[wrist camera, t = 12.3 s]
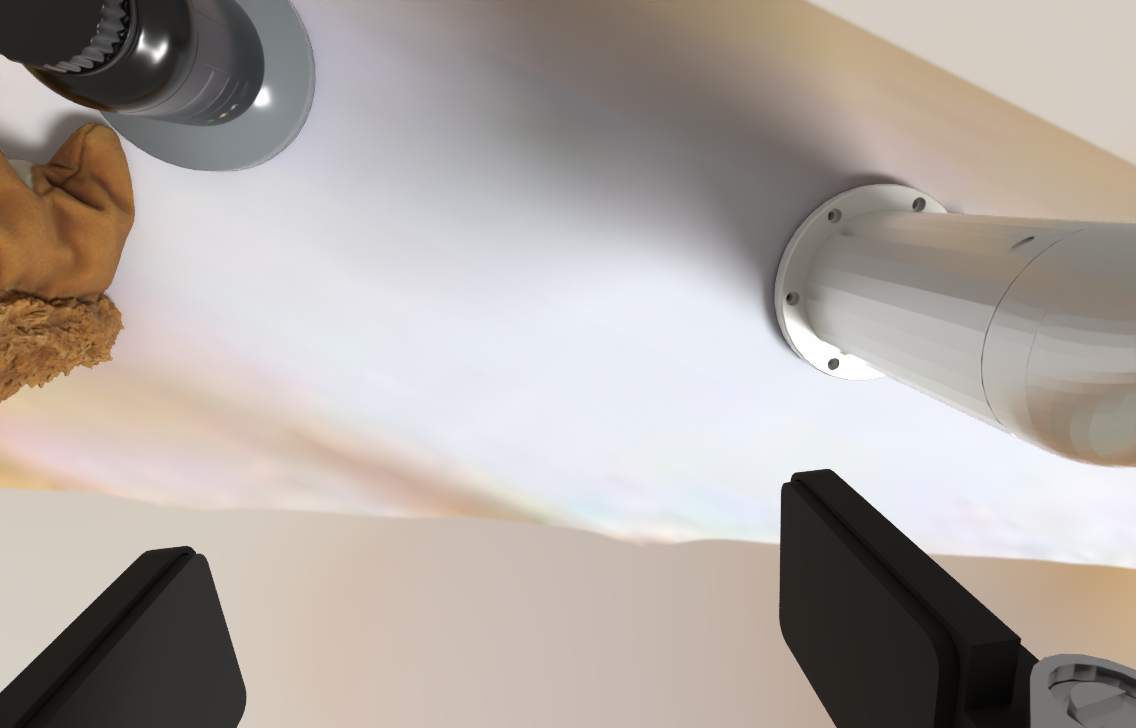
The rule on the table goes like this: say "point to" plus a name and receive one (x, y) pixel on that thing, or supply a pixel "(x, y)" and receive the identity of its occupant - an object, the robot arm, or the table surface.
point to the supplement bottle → (140, 55)
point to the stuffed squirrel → (61, 257)
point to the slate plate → (262, 123)
